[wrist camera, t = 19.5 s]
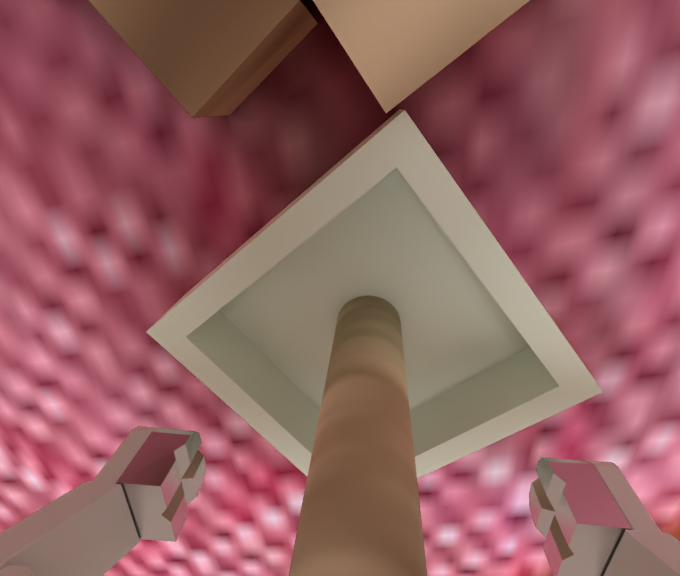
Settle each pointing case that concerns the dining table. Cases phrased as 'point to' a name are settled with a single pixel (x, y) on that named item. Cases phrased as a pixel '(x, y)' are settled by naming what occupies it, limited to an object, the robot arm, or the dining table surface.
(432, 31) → the board
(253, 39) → the small brown block
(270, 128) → the dining table surface
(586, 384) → the tray
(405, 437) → the dowel
